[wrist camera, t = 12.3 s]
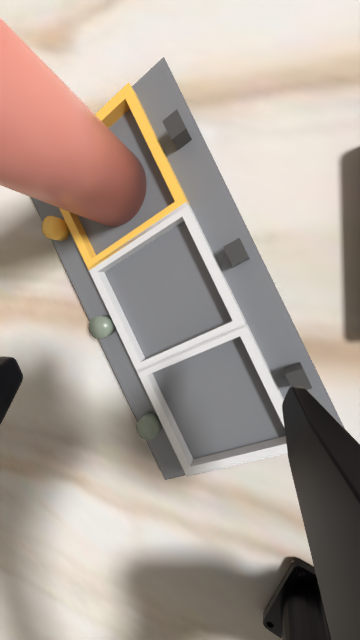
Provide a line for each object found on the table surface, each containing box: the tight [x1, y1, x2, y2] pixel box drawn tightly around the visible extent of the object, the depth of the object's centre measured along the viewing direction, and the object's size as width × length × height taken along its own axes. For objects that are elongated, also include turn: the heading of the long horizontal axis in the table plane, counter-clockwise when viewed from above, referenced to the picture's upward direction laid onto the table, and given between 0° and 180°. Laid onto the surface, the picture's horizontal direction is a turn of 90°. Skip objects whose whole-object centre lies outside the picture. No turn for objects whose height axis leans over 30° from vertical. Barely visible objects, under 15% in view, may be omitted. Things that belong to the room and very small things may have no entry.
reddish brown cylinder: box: [0, 18, 147, 226], centre depth 11 cm, size 5×5×13 cm
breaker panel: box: [31, 57, 345, 480], centre depth 17 cm, size 25×13×2 cm, turn 27°
